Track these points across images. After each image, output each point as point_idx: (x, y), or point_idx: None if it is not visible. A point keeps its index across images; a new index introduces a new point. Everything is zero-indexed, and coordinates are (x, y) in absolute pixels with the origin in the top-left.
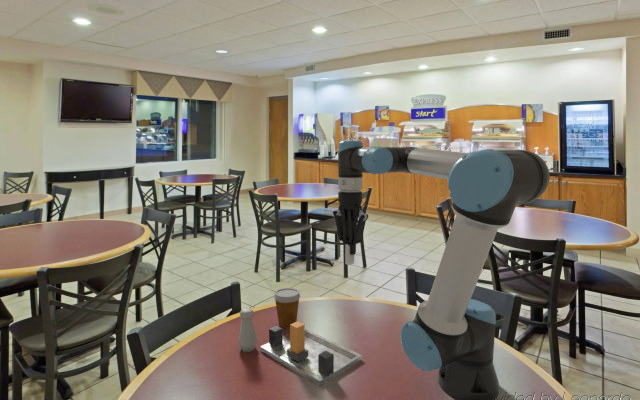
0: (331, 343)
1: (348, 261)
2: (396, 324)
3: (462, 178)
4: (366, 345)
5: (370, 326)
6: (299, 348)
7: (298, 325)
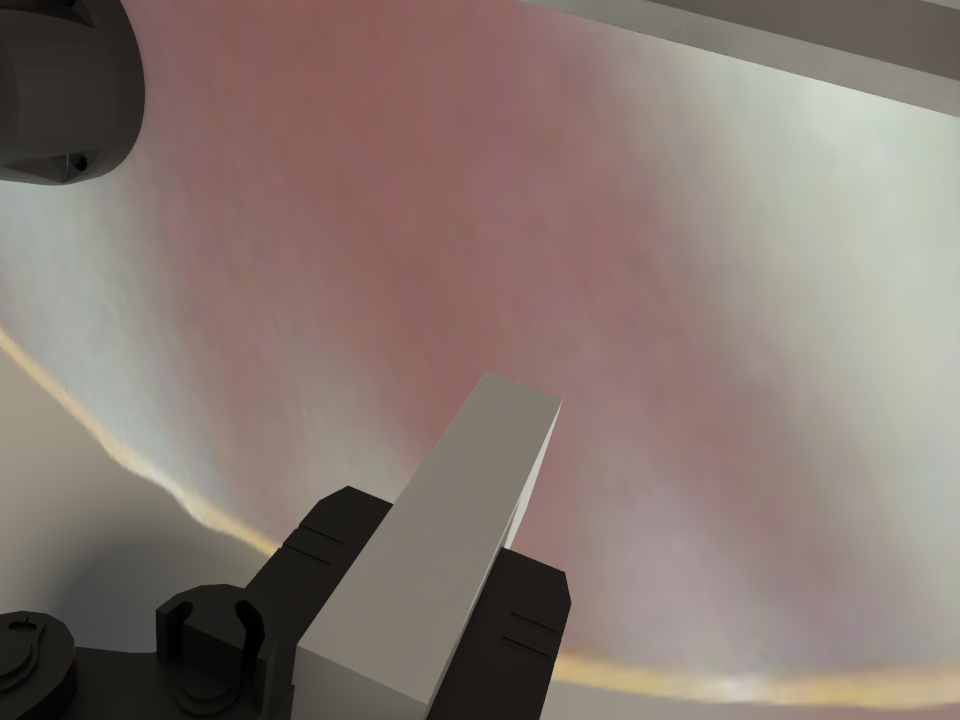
0: (728, 20)
1: (471, 403)
2: None
3: None
4: (535, 172)
5: (597, 393)
6: None
7: None
